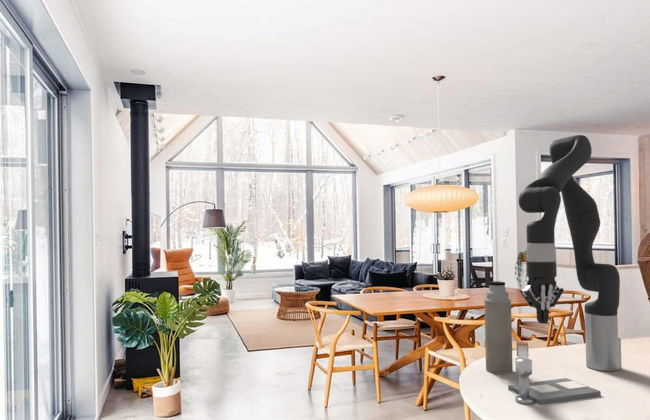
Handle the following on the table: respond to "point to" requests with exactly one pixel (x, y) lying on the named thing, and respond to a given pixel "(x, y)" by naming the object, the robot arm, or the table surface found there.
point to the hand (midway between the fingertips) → (542, 323)
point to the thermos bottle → (498, 329)
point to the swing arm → (523, 359)
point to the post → (524, 391)
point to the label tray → (557, 390)
